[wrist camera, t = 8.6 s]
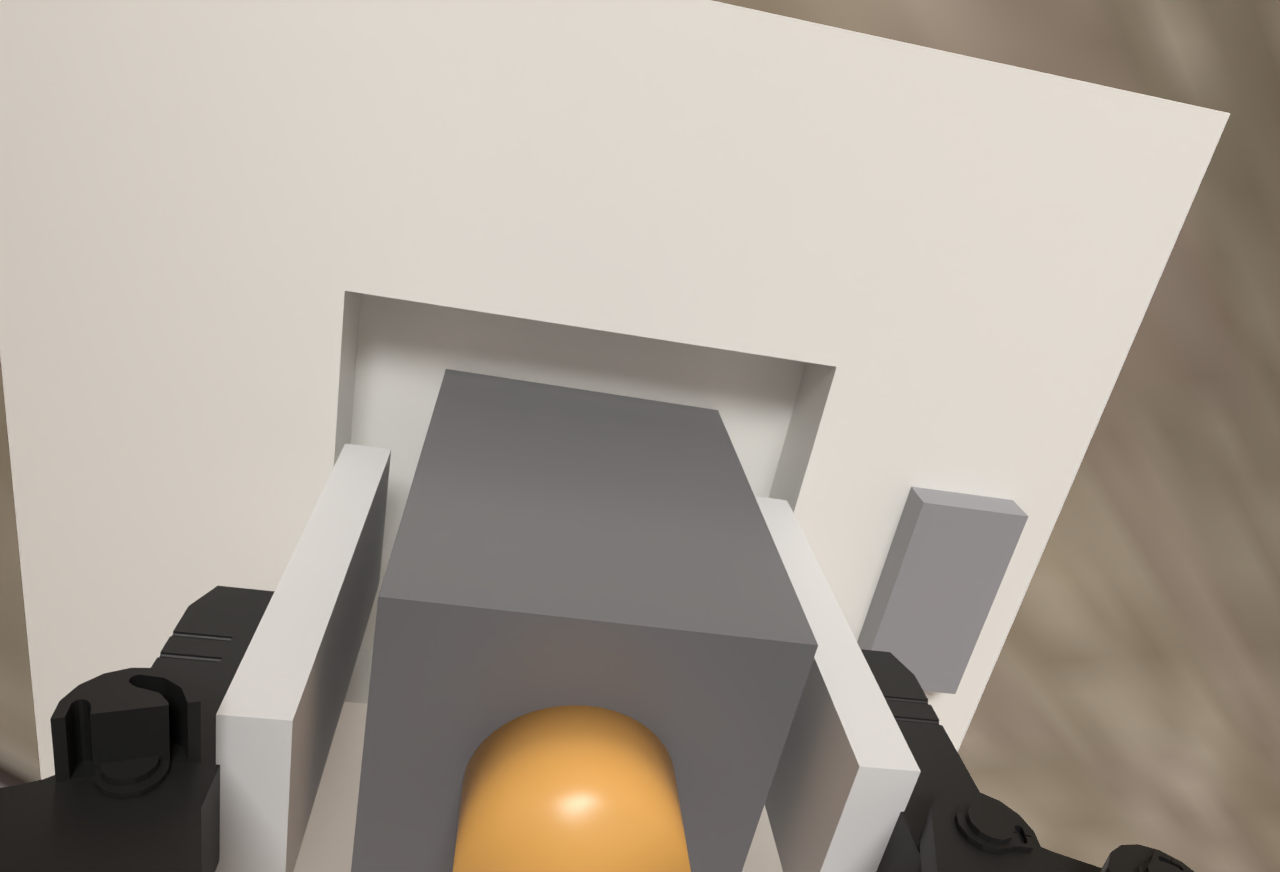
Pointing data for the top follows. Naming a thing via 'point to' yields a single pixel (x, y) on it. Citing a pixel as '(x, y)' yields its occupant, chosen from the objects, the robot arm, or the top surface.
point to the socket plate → (552, 292)
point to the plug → (576, 643)
